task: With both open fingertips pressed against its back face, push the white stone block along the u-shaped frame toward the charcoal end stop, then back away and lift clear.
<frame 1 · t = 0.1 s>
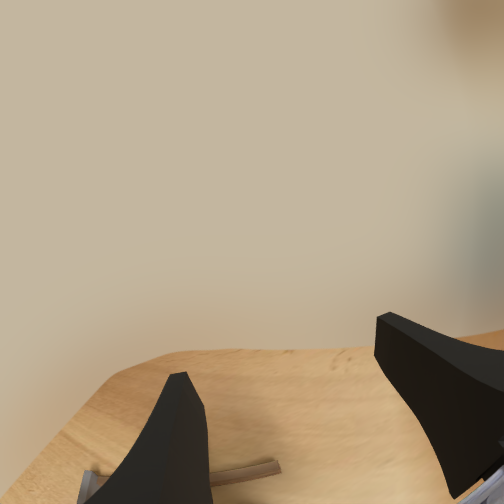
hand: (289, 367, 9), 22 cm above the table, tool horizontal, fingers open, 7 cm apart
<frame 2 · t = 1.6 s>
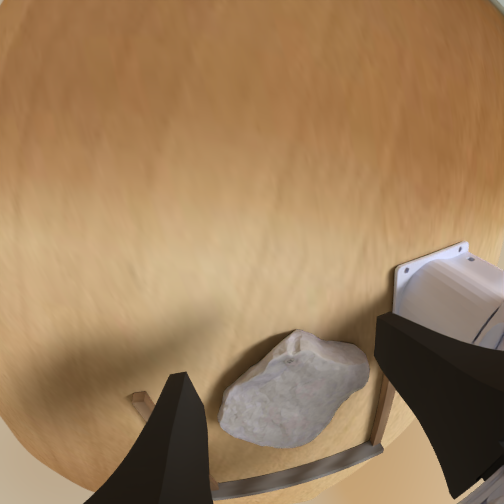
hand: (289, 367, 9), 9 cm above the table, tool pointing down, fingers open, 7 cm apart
u-shaped frame: (287, 431, 25), on the table
stone block: (281, 379, 23), on the table
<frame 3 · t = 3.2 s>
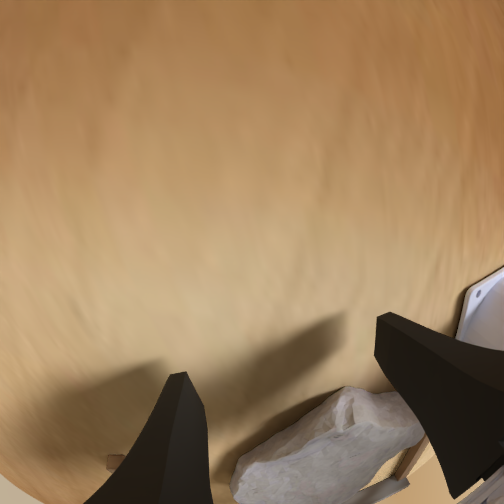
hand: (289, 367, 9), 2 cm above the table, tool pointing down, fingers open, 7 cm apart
u-shaped frame: (306, 484, 18), on the table
stone block: (313, 438, 15), on the table
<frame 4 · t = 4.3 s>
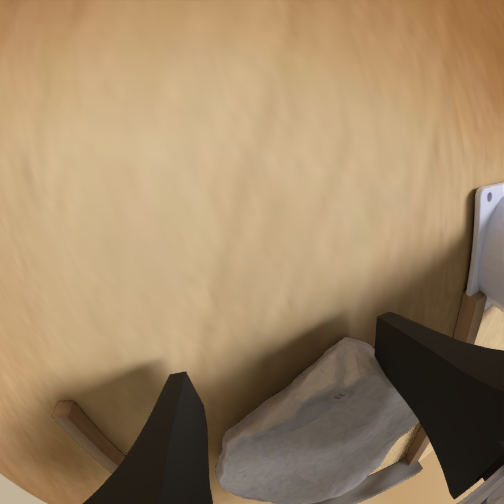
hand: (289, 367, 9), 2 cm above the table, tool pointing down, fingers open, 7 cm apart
u-shaped frame: (302, 462, 16), on the table
stone block: (312, 411, 14), on the table, touching gripper
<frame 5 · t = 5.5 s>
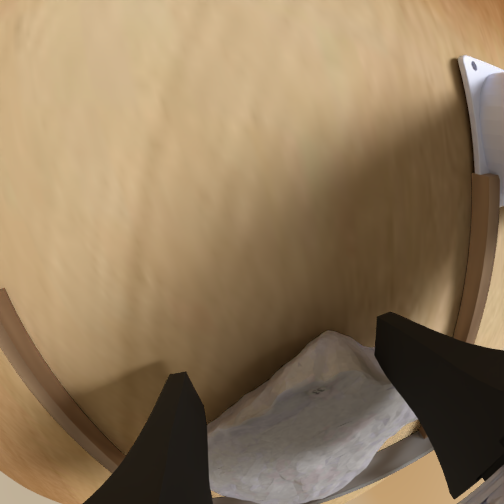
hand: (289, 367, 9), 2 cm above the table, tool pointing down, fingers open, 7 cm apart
u-shaped frame: (293, 416, 13), on the table
stone block: (296, 409, 14), on the table
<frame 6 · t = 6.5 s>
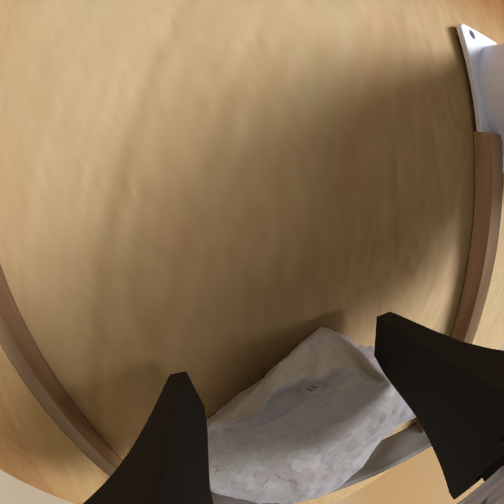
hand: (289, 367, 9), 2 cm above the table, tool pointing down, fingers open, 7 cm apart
u-shaped frame: (283, 387, 12), on the table
stone block: (291, 407, 14), on the table, touching gripper
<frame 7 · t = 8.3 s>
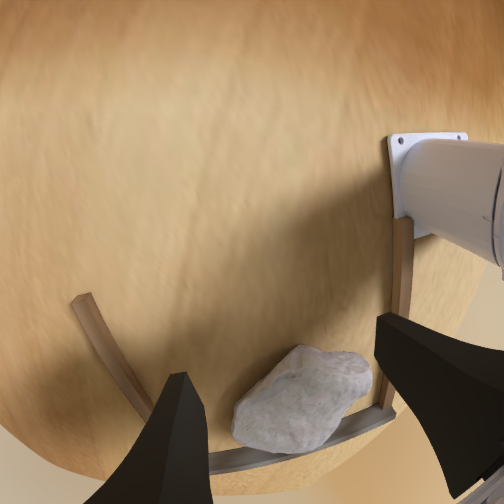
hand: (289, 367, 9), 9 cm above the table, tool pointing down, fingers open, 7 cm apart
u-shaped frame: (273, 374, 22), on the table
stone block: (289, 389, 23), on the table
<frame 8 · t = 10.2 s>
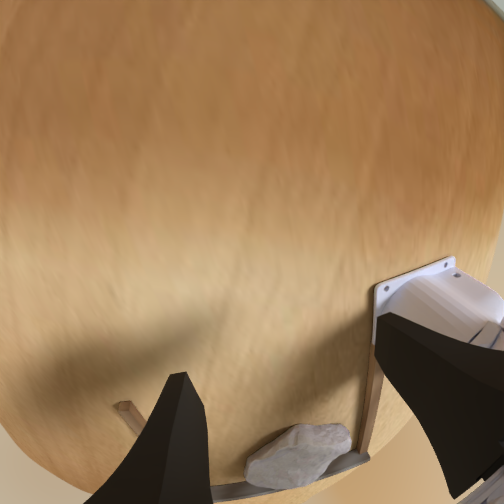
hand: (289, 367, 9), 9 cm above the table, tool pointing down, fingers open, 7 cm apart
u-shaped frame: (270, 440, 26), on the table
stone block: (288, 446, 28), on the table
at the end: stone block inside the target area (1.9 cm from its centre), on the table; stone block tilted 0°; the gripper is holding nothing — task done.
